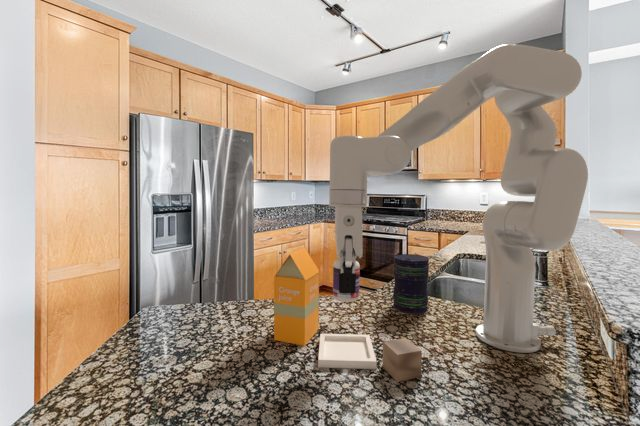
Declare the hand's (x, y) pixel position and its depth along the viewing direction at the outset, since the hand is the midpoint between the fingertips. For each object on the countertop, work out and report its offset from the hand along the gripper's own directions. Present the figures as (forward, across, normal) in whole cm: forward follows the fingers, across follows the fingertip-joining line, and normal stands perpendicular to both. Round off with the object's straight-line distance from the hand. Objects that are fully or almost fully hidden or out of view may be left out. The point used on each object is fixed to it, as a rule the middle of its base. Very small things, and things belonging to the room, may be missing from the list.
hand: (346, 287), depth 62 cm
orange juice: (+14, +8, +11) cm, 20 cm away
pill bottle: (+2, 0, 0) cm, 2 cm away
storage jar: (+14, +27, -20) cm, 37 cm away
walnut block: (+14, -6, -10) cm, 18 cm away
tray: (+14, 0, 0) cm, 14 cm away
